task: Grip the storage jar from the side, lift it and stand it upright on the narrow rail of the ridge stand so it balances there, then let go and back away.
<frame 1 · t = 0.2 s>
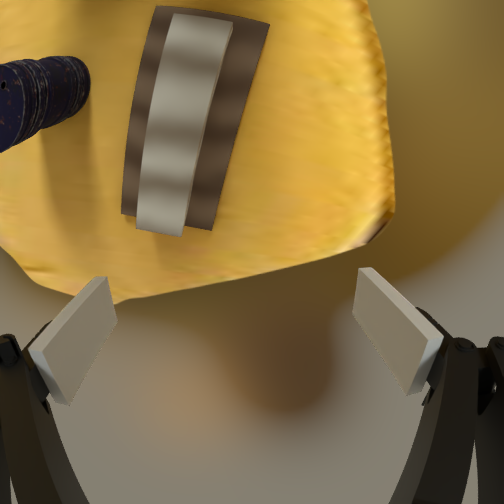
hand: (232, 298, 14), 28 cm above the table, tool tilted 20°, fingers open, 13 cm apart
ridge stand: (184, 119, 33), on the table
storage jar: (63, 87, 28), on the table
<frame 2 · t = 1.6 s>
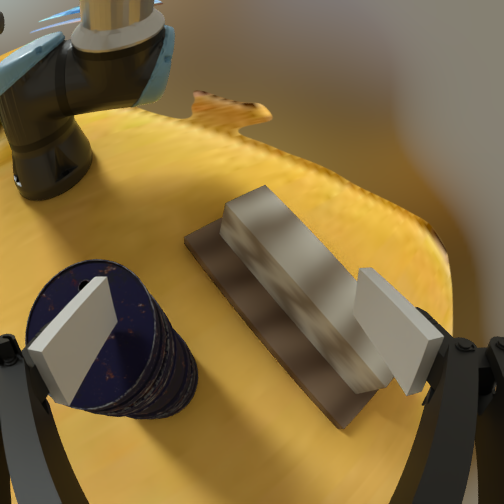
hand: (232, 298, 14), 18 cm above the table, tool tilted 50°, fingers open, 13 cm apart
ridge stand: (299, 304, 35), on the table
storage jar: (153, 374, 27), point 1 cm above the table, touching gripper
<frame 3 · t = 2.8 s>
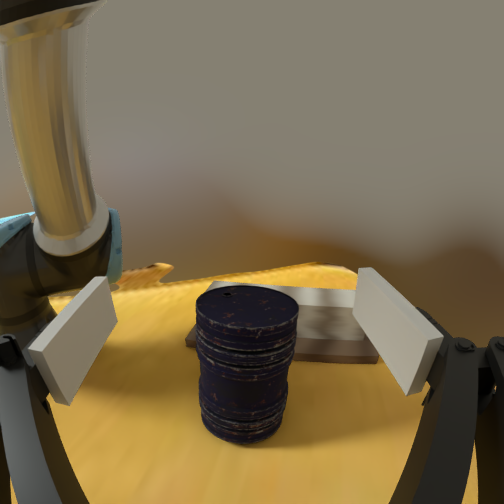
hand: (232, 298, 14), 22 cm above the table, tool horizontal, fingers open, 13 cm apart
ridge stand: (284, 333, 47), on the table
storage jar: (241, 415, 30), on the table
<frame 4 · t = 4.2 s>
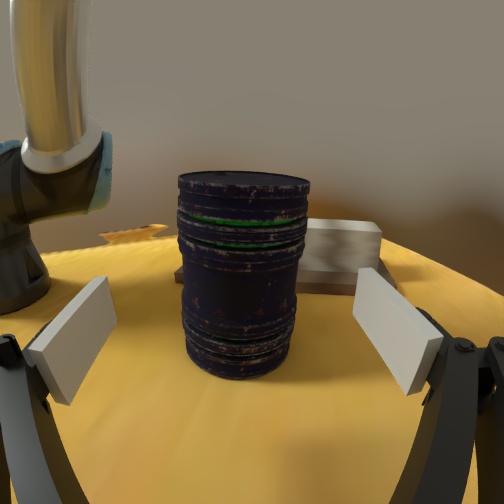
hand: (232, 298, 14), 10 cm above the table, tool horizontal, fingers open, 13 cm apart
ridge stand: (287, 270, 43), on the table
storage jar: (237, 344, 26), on the table
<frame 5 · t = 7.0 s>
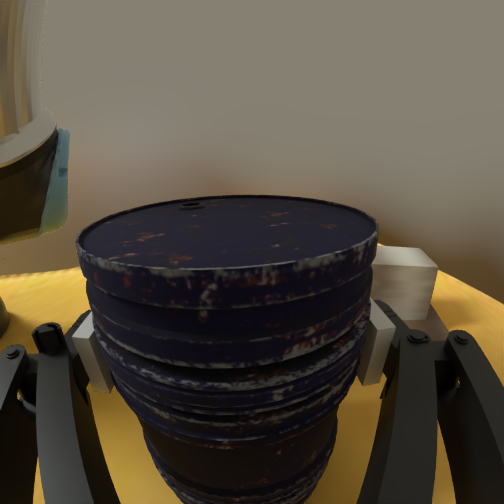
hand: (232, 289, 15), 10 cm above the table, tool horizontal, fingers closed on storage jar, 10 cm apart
ridge stand: (307, 314, 31), on the table
storage jar: (243, 463, 14), on the table, touching gripper
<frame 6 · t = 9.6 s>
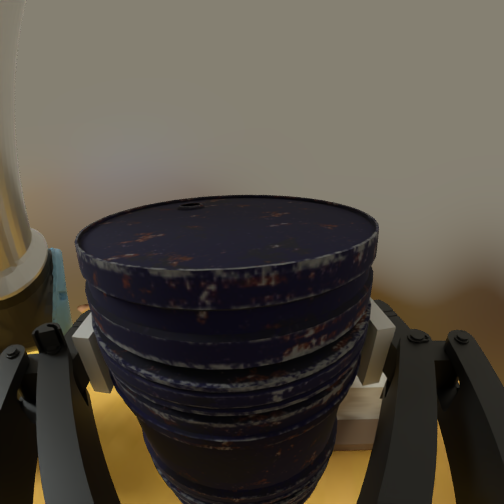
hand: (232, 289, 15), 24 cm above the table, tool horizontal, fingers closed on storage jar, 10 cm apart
ridge stand: (287, 407, 34), on the table
storage jar: (242, 463, 14), point 14 cm above the table, touching gripper
when the fingers open (19 cm above the table, at t = 12.5 s): storage jar drops 1 cm, resting on ridge stand.
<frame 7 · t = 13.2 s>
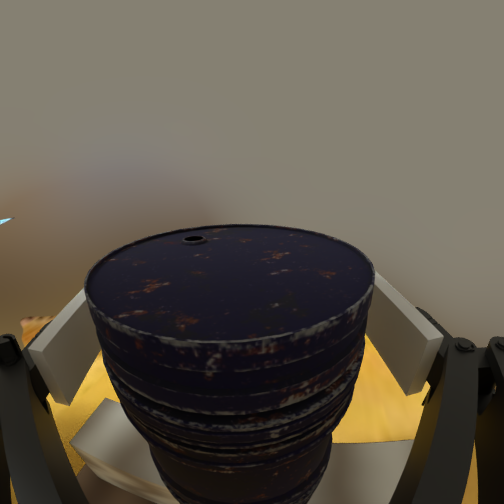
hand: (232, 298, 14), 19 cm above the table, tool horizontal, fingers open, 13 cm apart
ridge stand: (246, 502, 17), on the table
storage jar: (243, 473, 14), point 7 cm above the table, touching ridge stand
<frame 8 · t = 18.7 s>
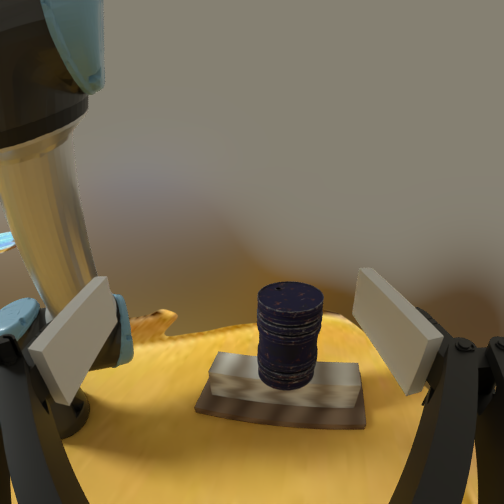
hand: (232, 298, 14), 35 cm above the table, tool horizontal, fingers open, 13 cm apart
ridge stand: (283, 398, 49), on the table
storage jar: (286, 372, 46), point 7 cm above the table, touching ridge stand
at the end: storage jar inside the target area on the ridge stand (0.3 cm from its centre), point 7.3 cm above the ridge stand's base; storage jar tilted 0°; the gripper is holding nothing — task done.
